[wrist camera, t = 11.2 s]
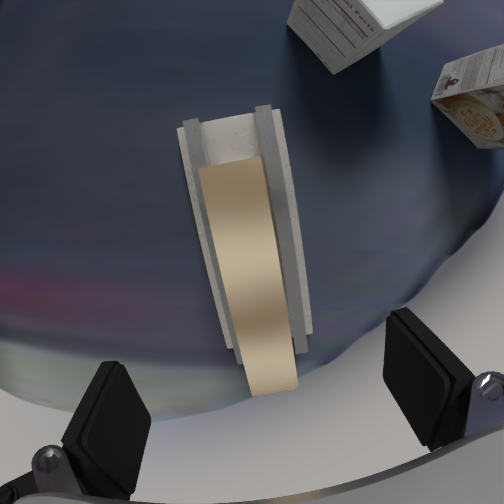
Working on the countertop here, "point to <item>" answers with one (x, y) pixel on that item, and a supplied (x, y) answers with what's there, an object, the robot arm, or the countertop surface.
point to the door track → (280, 200)
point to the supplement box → (352, 26)
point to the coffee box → (475, 96)
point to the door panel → (251, 271)
